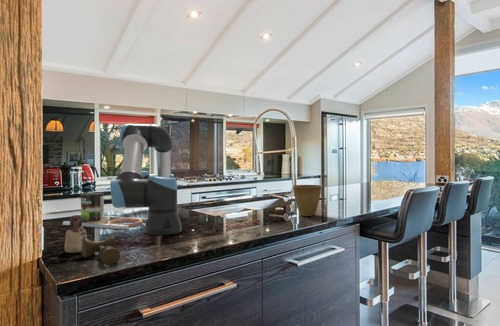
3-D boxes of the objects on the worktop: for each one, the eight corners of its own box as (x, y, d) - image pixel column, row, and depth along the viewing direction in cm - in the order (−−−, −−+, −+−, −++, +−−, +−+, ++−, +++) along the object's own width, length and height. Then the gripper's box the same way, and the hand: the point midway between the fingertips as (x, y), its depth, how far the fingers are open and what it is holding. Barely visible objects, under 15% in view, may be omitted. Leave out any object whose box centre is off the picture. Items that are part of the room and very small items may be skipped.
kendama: (94, 270, 97) (78, 253, 113) (128, 264, 103) (108, 249, 119) (94, 249, 97) (78, 235, 113) (129, 244, 103) (109, 231, 119)
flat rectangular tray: (152, 221, 167) (152, 218, 167) (126, 229, 149) (126, 226, 149) (93, 218, 179) (93, 215, 179) (62, 224, 161) (62, 221, 161)
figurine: (89, 246, 121) (89, 212, 121) (86, 251, 114) (86, 215, 114) (66, 248, 119) (66, 213, 119) (62, 253, 112) (62, 217, 112)
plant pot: (321, 213, 188) (321, 184, 188) (321, 218, 173) (320, 186, 173) (294, 212, 191) (294, 184, 191) (291, 217, 177) (291, 186, 176)
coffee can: (92, 225, 160) (91, 194, 160) (75, 223, 164) (75, 194, 164) (108, 221, 170) (108, 192, 170) (93, 219, 174) (92, 192, 174)
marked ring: (148, 222, 166) (148, 219, 166) (127, 228, 151) (127, 225, 151) (122, 220, 170) (122, 217, 170) (100, 226, 156) (100, 223, 156)
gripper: (150, 206, 191) (125, 212, 171) (114, 205, 199) (85, 210, 179) (150, 193, 191) (125, 197, 171) (114, 192, 199) (85, 196, 179)
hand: (104, 204), depth 175 cm, fingers open, 13 cm apart
